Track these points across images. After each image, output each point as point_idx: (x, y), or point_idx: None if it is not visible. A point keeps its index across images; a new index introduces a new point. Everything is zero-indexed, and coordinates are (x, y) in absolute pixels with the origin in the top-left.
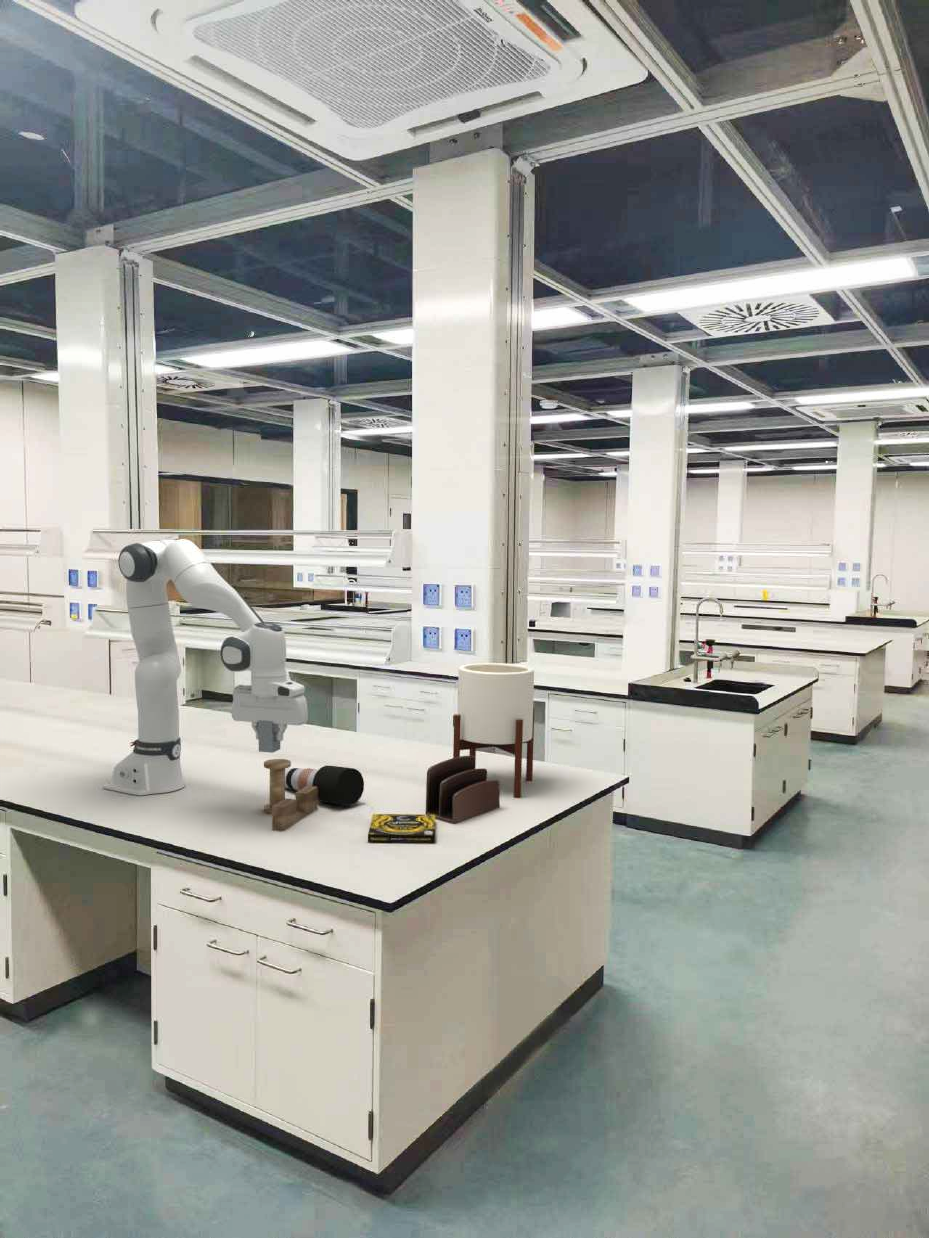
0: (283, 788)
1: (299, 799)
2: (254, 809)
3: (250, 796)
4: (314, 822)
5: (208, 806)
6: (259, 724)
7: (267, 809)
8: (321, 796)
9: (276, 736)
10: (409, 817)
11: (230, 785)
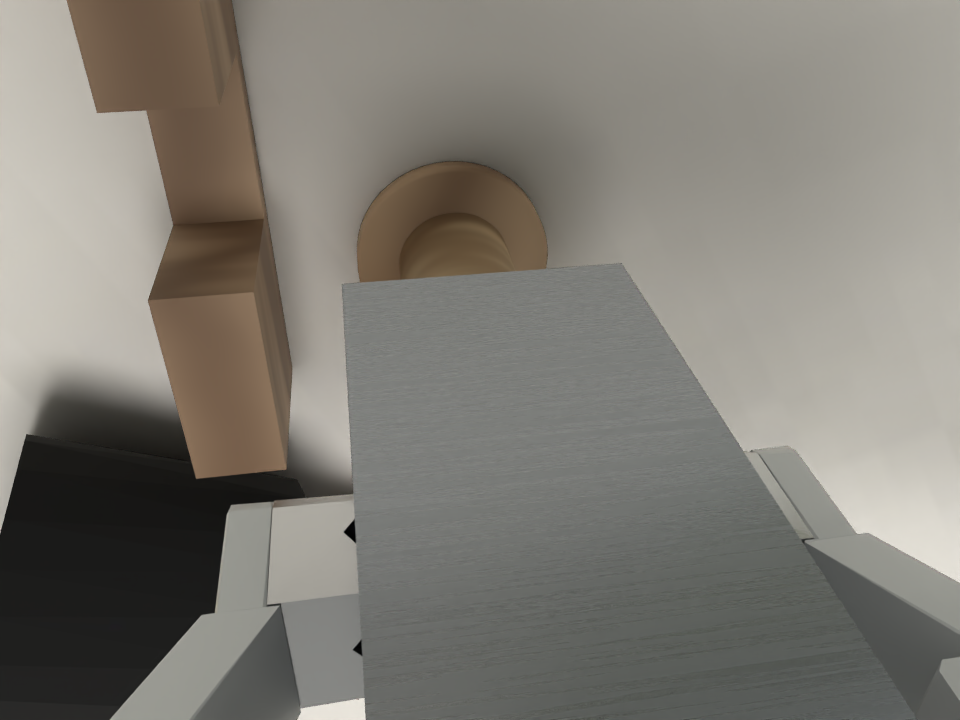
0: None
1: (220, 267)
2: (607, 204)
3: (738, 401)
4: (15, 112)
5: (936, 138)
6: (857, 697)
7: (483, 177)
8: None
9: (315, 562)
10: None
11: (913, 500)
